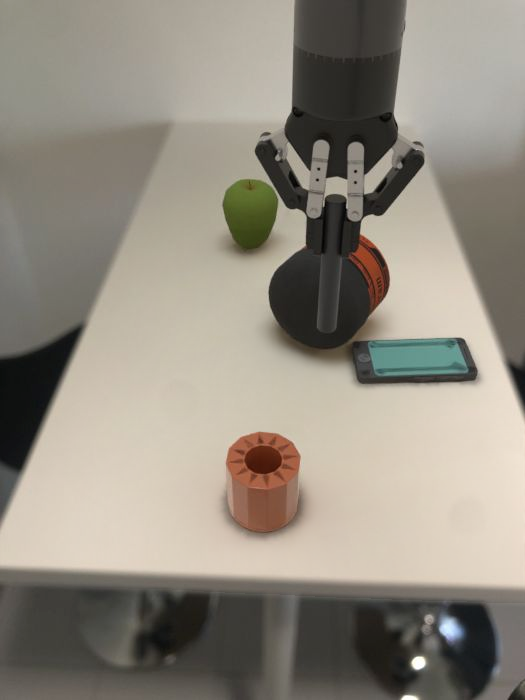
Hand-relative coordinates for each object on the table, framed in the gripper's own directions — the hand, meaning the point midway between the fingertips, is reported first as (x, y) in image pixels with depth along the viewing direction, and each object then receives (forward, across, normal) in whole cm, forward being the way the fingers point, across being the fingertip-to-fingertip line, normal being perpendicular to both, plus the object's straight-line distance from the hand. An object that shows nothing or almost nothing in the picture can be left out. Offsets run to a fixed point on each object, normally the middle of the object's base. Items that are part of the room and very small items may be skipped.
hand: (332, 251), depth 58 cm
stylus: (+9, 0, 0) cm, 9 cm away
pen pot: (+27, -5, -6) cm, 28 cm away
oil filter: (+27, -2, +23) cm, 36 cm away
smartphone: (+27, +11, +18) cm, 34 cm away
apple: (+27, -15, +43) cm, 53 cm away
